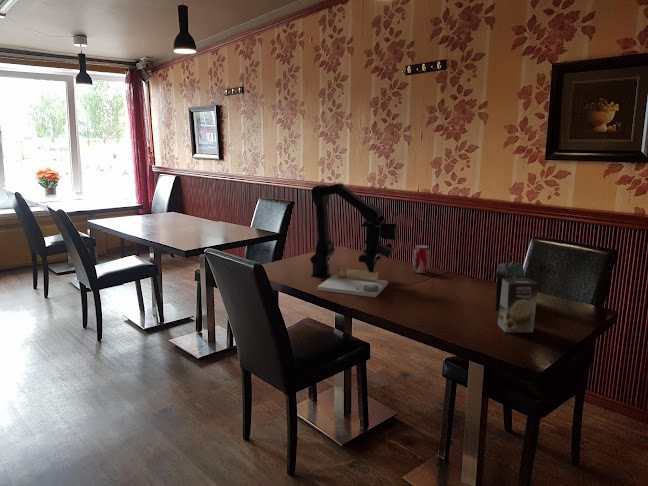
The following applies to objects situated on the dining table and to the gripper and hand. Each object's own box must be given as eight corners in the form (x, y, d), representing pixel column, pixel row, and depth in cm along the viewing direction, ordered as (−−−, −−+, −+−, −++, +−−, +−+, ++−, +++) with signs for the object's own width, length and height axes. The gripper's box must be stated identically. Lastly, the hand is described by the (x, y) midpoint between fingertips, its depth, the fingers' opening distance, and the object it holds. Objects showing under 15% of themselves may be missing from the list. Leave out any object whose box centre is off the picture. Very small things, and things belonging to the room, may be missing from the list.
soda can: (424, 275, 216) (425, 248, 213) (410, 272, 220) (411, 246, 217) (431, 271, 221) (432, 245, 219) (417, 269, 225) (418, 243, 223)
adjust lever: (336, 277, 206) (336, 269, 205) (340, 275, 209) (340, 267, 209) (375, 282, 200) (376, 273, 199) (378, 279, 203) (378, 271, 202)
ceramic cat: (506, 314, 168) (511, 258, 164) (488, 310, 172) (492, 255, 168) (526, 300, 183) (531, 248, 179) (509, 296, 187) (513, 245, 183)
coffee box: (505, 333, 152) (509, 283, 149) (497, 325, 159) (501, 277, 155) (534, 332, 153) (538, 283, 149) (525, 324, 159) (529, 277, 155)
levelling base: (317, 290, 195) (317, 282, 194) (333, 278, 211) (333, 271, 210) (375, 297, 186) (375, 289, 185) (387, 284, 202) (387, 277, 201)
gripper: (385, 244, 189) (384, 282, 193) (397, 235, 206) (396, 270, 210) (358, 241, 194) (357, 279, 197) (372, 233, 210) (371, 268, 214)
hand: (371, 274), depth 204 cm, fingers closed
